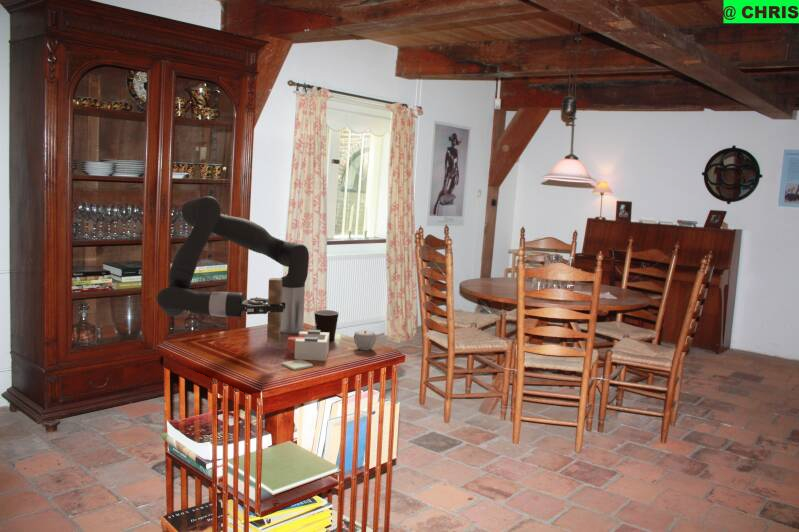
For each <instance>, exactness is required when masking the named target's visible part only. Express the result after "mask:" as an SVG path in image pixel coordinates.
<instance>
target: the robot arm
mask: <svg viewBox="0 0 799 532" xmlns="http://www.w3.org/2000/svg"><path fill="white" fill-rule="evenodd" d="M180 211H181V212H180V213H181V217H182V218H183V220H184V222H186V224H188V225H189V226H191V227H192V230H191V231H190V233H189V235H188V236H187V238H186V239H185V241H184V242H183V244H182V245H181V246H180V247H179V249H178V250H177V252H176V254H175V257H174V258H173V260H172V264H171V265H170V269H169V272H168V275H167V276H168V277H167V280H168V287H164V288H162V289H161V290H160V291H159V292H158V294H157V295H156V302H157V305H158V307H159V308H160V309H161V310H162V311H163V312H164V313H165V315H168V316H169V317H178V316H180V315H182V314H183V312H184V311H187V312H191V313H192V314H194V315H197V316H198V315H199V316H214V317H219V318H221V317H222V318H239V319H241V318H243V317H244V316H243V315H244V312H246V315H249V316H250V315H266V314H267V315H268V313H270V311H271V312H281V333H283V334H299V332H300V331H304V320H305V319H304V317H305V292H306V291H305V290H306V289H305V287H306V281H307V278H308V272H309V262H310V256H309V255H310V252H309V249H308V247H307V246H306V245H304V244H303V243H299V242H298V243H297V242H293V241H292V242H291V241H285V240H283V239H280V238H277V237H275V236H272V235H271V234H270V233H269V231H267V230H266V229H265V228H264V227H263V226H261V225H259V224H258V223H256V222H254V221H251V220H249V219H246V218H243V217H237V216H233V215H226V214H222V208H221V204H220V202H219V201H218V199H216V198H215V197H213V196H210V195H205V196H200V197H195V198H192V199H189V200H187V201H185V203H184V204H182V207H181V209H180ZM212 234H214V235H217V236H219V237H221V238H223V239H225V240H227V241H230V242H232V243H234V244H236V245H237V246H240V247H243V248H245V249H247V250H249V251H253V252H255V253H258V254H261V255H263V256H266V257H268V258H270V259H272V260H273V261H274V262H277V263H278V264H280V265H281V266H283V267H286V268H288V269H287V274H286V275H284V276H282V277H281V278H282V302H281V305H277V304H268V298H262V297H258V296H256V297H250V298H249V299H246V298H245V294H244V293H243V292H236V291H196V290H192V289H190V288H191V283H192V281H193V279H194V275H195V272H196V269H197V266H198V264H199V260H200V257H201V255H202V253H203V250H204V248H205V247H206V245H207V243H208V241H209V239H210V237H211V235H212Z"/></svg>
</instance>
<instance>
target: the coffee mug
mask: <svg viewBox="0 0 799 532" xmlns="http://www.w3.org/2000/svg"><path fill="white" fill-rule="evenodd" d="M338 319H339V312H338V311H335V310H331V309H318V310H315V311H314V323H315V324H314V325H315V330H321V332H327V333H329V343H331V342H334V341H335V338H336V331H337V326H338Z"/></svg>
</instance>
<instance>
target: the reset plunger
mask: <svg viewBox="0 0 799 532" xmlns="http://www.w3.org/2000/svg"><path fill="white" fill-rule="evenodd" d="M296 338H297V339H305V337H299V336H288V338H287V344H286V346H287V347H286V348H287V349H286V350H287V351H295V340H296Z"/></svg>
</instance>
